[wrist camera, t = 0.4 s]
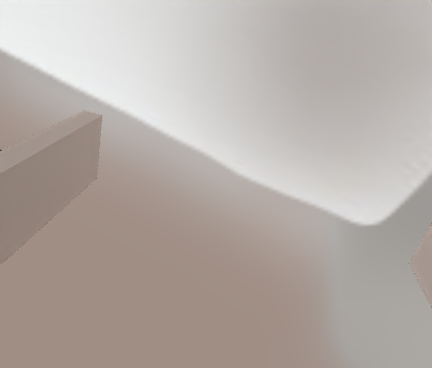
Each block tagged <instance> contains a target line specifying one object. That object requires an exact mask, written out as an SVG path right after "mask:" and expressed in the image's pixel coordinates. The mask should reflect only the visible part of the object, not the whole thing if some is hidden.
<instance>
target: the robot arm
mask: <svg viewBox="0 0 432 368" xmlns="http://www.w3.org/2000/svg"><path fill="white" fill-rule="evenodd" d="M101 123H102V115H99V114H95V113H91V112H87V111H81V112H79V113H77V114H75V115H73V116H71V117H69V118H67V119H65V120H63V121H61V122H59V123H57V124H55V125H53V126H51V127H49V128H46V129H44V130H42V131H40V132H38V133H36V134H34V135H32V136H31V137H29V138H26V139H24V140H22V141H20V142H18V143H16V144H14V145H12V146H10V147H8V148H6V149H4V150H0V265H1V264H3V263H4V262H5V261H6V260H7V259H8V258H9V257H10V256H11V255H12V254H14V253H15V252H16V251H17V250H18V249H19V248H20V247H21V246H22V245H24V244H25V243H26V242H27V241H28V240H29V239H30V238H31V237H32V236H34V234H36V233H37V232H38V231H39V230H40V229H41V228H43V227H44V226H45V225H46V224H47V223H48V222H49V221H50V220H51V219H53V218H54V217H55V216H56V215H57V214H58V213H59V212H60V211H61V210H63V209H64V208H65V207H66V206H67V205H68V204H69V203H70V202H71V201H73V200H74V199H75V198H76V197H77V196H78V195H79V194H80V193H81V192H83V191H84V190H85V189H86V188H87V187H88V186H89V185H90V184H91V183H92V182H94V181H95V180H96V179H97V170H98V159H99V147H100V135H101ZM409 264H410V266H411V268H412V270H413V272H414V274H415V276H416V278H417V280H418V282H419V284H420V286H421V288H422V289H423V292H424V294H425V296H426V298H427V300H428V301H429V303H430V305H431V307H432V223H431V225H430V227H429V229H428V230H427V232H426V234H425V236H424V238H423V240H422V241H421V243H420V245H419V247H418V248H417V250H416V252H415V254H414V255H413V257H412V259H411V261H410V263H409Z"/></svg>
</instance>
